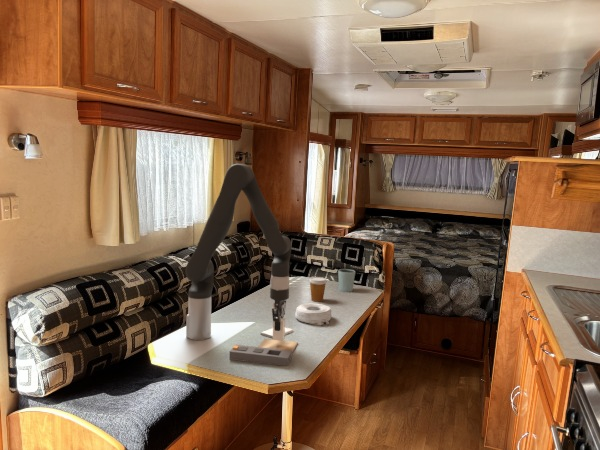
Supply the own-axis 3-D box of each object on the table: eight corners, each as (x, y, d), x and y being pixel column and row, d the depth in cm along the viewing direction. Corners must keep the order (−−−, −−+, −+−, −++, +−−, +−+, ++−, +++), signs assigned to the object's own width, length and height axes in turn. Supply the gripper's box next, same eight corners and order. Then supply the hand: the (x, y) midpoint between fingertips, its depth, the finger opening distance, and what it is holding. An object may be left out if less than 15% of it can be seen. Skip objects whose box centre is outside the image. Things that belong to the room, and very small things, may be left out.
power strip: (229, 359, 170) (229, 349, 170) (235, 352, 177) (236, 343, 177) (287, 366, 166) (287, 356, 166) (291, 358, 173) (291, 349, 172)
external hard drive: (260, 335, 197) (278, 328, 207) (274, 340, 192) (293, 332, 202) (260, 332, 197) (278, 325, 207) (274, 336, 192) (293, 329, 202)
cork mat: (257, 348, 181) (257, 347, 181) (264, 339, 191) (264, 338, 191) (292, 352, 178) (292, 351, 178) (297, 343, 188) (297, 342, 188)
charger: (272, 339, 183) (273, 315, 182) (275, 336, 186) (275, 312, 185) (282, 340, 182) (283, 316, 181) (284, 337, 186) (285, 313, 185)
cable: (328, 327, 211) (329, 314, 210) (291, 323, 214) (291, 310, 213) (333, 315, 228) (334, 303, 227) (298, 312, 231) (299, 300, 230)
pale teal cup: (335, 288, 280) (335, 269, 279) (350, 287, 283) (351, 268, 282) (341, 292, 270) (342, 272, 269) (357, 292, 273) (358, 272, 272)
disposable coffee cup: (326, 302, 248) (327, 281, 247) (308, 302, 248) (309, 280, 247) (325, 298, 258) (326, 277, 256) (308, 297, 258) (309, 276, 256)
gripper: (275, 281, 190) (274, 322, 191) (265, 290, 176) (264, 333, 178) (292, 283, 188) (291, 324, 190) (284, 291, 174) (283, 335, 176)
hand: (278, 328), depth 184 cm, fingers closed on charger, 3 cm apart
